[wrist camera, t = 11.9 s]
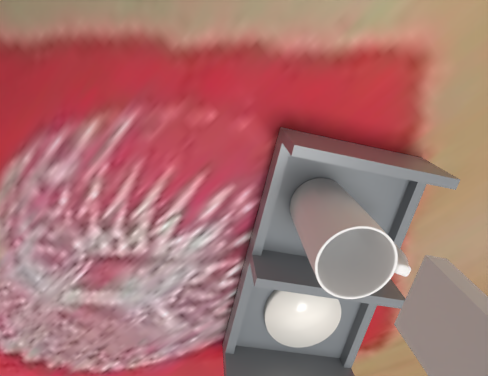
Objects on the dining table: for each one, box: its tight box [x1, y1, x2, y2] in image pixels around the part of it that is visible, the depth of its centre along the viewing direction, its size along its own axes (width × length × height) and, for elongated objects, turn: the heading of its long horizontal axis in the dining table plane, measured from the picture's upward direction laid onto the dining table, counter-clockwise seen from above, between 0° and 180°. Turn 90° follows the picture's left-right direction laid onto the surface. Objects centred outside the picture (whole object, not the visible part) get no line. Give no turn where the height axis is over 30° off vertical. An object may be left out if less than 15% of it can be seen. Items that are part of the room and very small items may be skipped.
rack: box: [223, 127, 460, 376], centre depth 44 cm, size 16×28×7 cm, turn 167°
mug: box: [290, 178, 411, 299], centre depth 38 cm, size 10×7×12 cm, turn 70°
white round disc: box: [264, 290, 341, 348], centre depth 48 cm, size 9×9×1 cm
